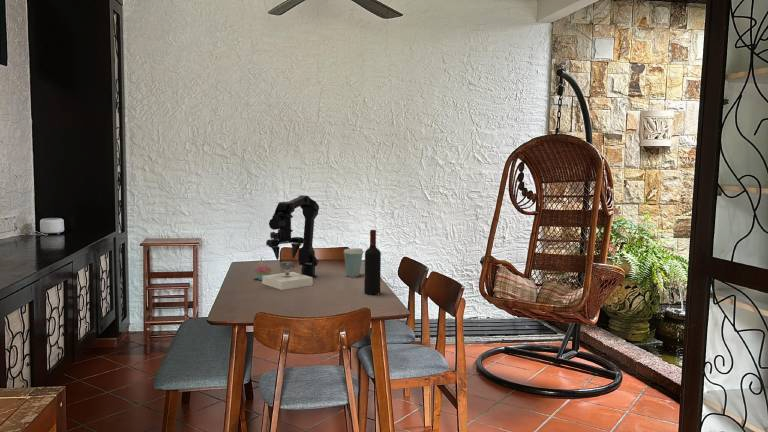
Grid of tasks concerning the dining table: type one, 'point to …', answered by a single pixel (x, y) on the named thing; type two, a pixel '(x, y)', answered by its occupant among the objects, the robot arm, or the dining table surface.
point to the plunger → (287, 266)
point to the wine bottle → (372, 267)
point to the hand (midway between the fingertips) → (285, 258)
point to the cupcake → (262, 271)
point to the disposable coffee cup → (353, 261)
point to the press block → (287, 280)
